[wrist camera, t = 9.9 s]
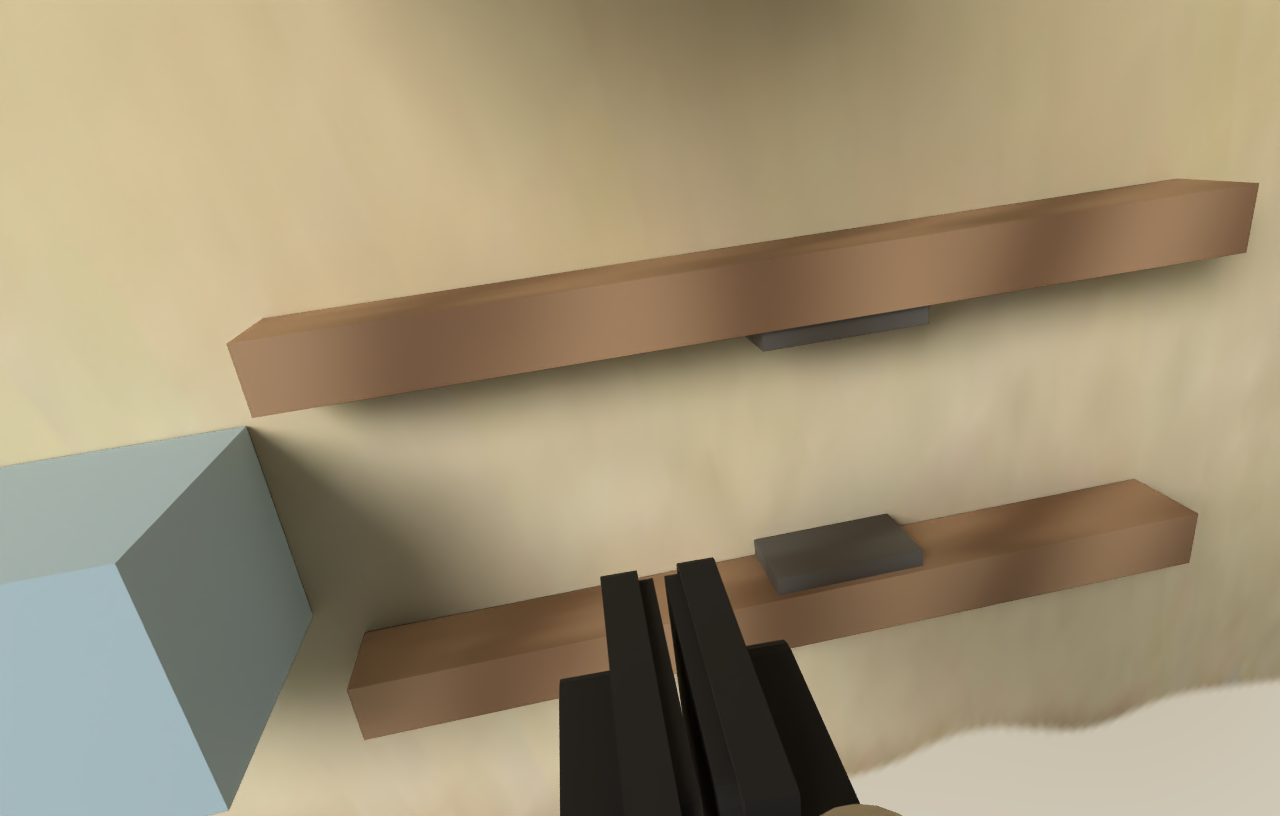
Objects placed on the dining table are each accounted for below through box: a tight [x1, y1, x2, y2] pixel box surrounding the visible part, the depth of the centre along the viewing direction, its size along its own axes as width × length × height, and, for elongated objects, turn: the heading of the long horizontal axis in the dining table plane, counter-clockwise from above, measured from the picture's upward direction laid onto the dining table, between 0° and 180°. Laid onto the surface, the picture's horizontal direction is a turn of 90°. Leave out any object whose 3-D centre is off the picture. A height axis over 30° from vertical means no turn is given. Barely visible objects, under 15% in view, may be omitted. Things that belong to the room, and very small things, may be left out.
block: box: [0, 426, 313, 816], centre depth 15 cm, size 6×6×6 cm
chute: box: [227, 179, 1259, 740], centre depth 18 cm, size 23×10×2 cm, turn 97°
